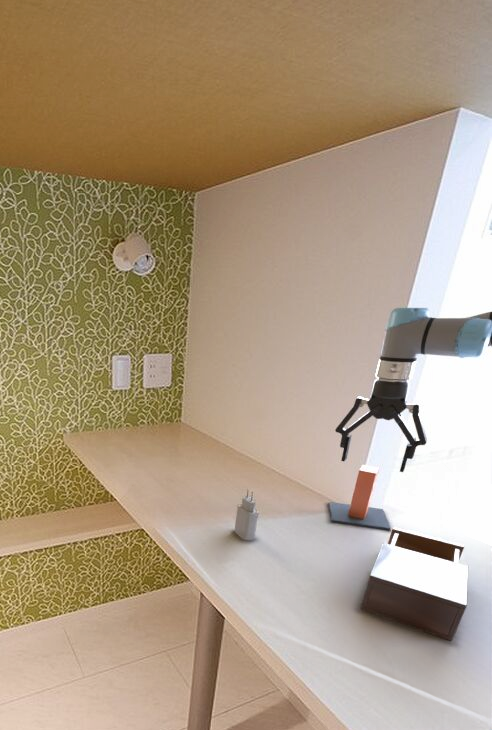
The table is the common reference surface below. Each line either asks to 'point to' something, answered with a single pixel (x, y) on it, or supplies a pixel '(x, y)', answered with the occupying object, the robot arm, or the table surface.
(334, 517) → the felt mat
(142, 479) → the table surface
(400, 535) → the drawer
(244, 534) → the power adapter
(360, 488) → the reddish brown rectangular block
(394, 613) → the cabinet
